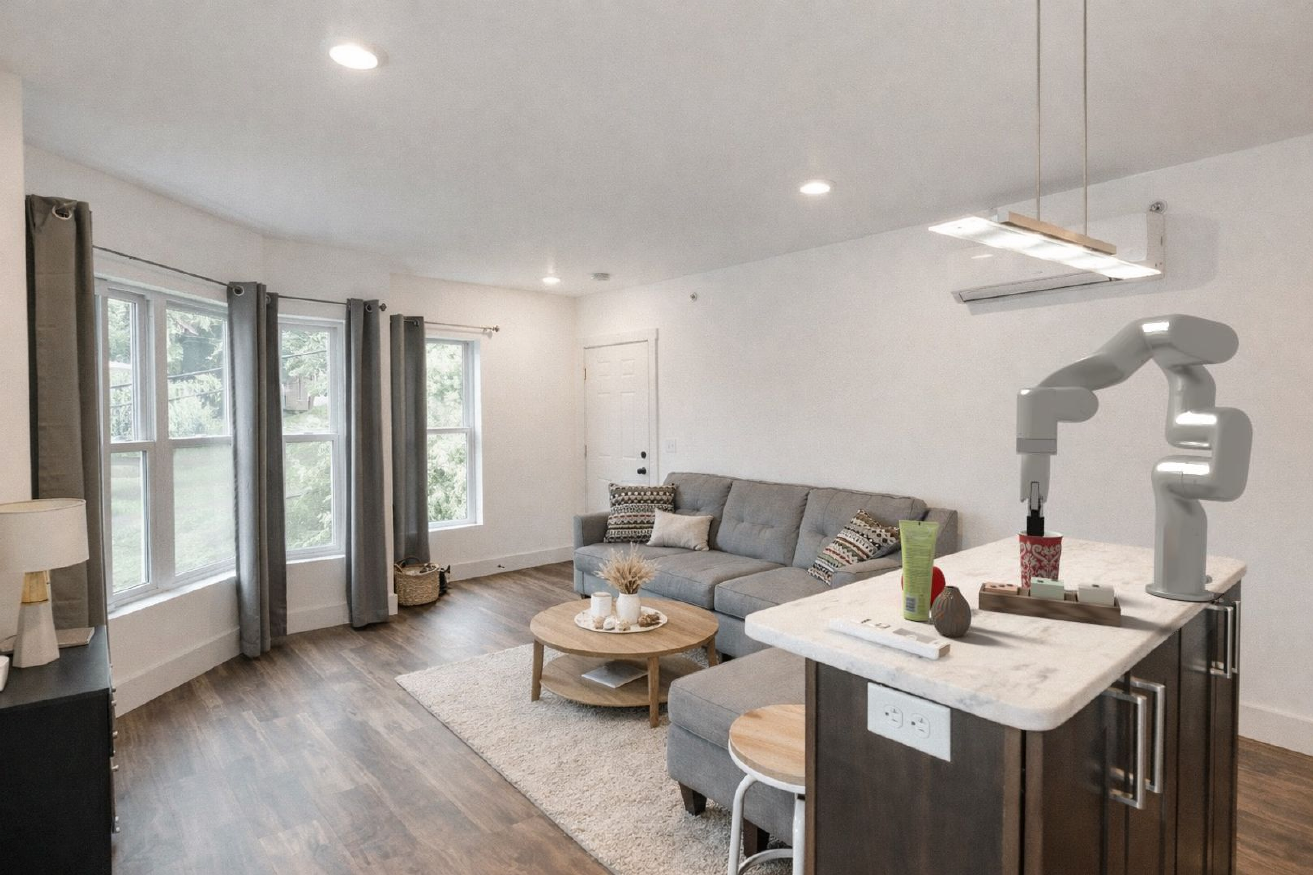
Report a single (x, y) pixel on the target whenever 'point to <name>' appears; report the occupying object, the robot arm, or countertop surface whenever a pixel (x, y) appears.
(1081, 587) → the tile one
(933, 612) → the vase
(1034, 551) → the mug
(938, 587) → the fruit
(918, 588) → the tube
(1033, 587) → the tile two
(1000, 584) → the tile three
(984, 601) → the wooden compartment tray
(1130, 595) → the countertop surface
